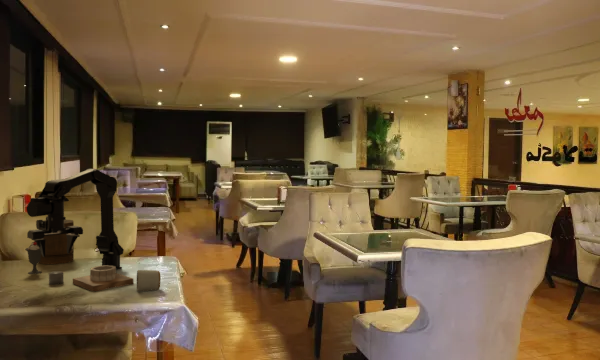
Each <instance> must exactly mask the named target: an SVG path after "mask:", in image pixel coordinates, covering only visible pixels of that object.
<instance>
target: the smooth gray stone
mask: <svg viewBox="0 0 600 360" xmlns="http://www.w3.org/2000/svg"><path fill="white" fill-rule="evenodd" d="M62 284H64V271H59V270H58V271H57V270H56V271H50V272H49V273H48V285H50V286H51V285H52V286H55V285H57V286H58V285H62Z"/></svg>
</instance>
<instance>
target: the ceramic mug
mask: <svg viewBox="0 0 600 360" xmlns="http://www.w3.org/2000/svg"><path fill="white" fill-rule="evenodd" d="M160 288H161V272H160V271H159V270H154V269H152V270H151V269H150V270H147V269H146V270H143V269H138V270H137V272H136V292H150V291H151V292H152V291H158V290H159V289H160Z"/></svg>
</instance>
